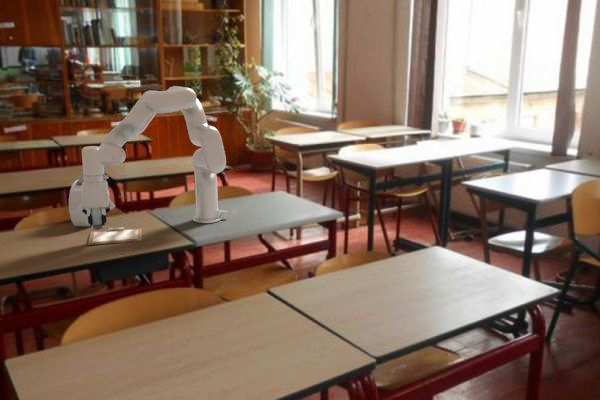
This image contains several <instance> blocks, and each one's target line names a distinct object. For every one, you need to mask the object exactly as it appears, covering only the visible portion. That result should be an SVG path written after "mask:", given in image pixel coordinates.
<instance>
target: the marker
mask: <svg viewBox="0 0 600 400" xmlns="http://www.w3.org/2000/svg"><path fill="white" fill-rule="evenodd" d="M91 216H92V224H93V226H92V230H94V231H100V230H102V229H103V228H104V225H102V208H96V207H95V208H91Z"/></svg>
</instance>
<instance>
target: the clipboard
mask: <svg viewBox="0 0 600 400" xmlns="http://www.w3.org/2000/svg"><path fill="white" fill-rule="evenodd" d="M142 230H143V229H142V228H139V227H138V228H126V229H125V226H122V227H120V226H119V227H108V230H94V231H90V234H89V238H88V242H87V245H88V246H91V245H92V246H93V245H107V244H109V245H110V244H118V243H119V244H120V243H133V242H134V243H135V242H142V241H143V237H142V235H143V231H142Z"/></svg>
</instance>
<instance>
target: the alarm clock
mask: <svg viewBox="0 0 600 400" xmlns="http://www.w3.org/2000/svg"><path fill="white" fill-rule="evenodd" d="M82 182H84V176H83V177H80V178H79V179H76V180H75V181H74V182H73V183H72V185H71V187H70V189H69V194H68V196H69V197H68V210H69V217H70V220H71V223H72V224H73V226H74V227H77V228H78V227H79V228H81V227H84V228H85V227H93V225H92V226H90V224H88V216H87V215H86V214H85V213H83V212H82V211H80V210H78V209H77V207H78V205H79V204H80V202H81V200H82V196H81V193H82ZM85 209H86V208H85ZM86 210H87V209H86ZM102 213H103V212H102Z"/></svg>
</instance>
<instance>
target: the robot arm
mask: <svg viewBox="0 0 600 400" xmlns="http://www.w3.org/2000/svg"><path fill="white" fill-rule="evenodd" d="M179 111H181V113H182V115H183V116H184V120H185V124H186V127H187V132H188V137H189V140H190V142H191V143H192V145H195V146H197V147H200V148H198V149H196V150H195V151H194V153H193V154H192V160H191V161H192V168H193V171H194V187H195V188H194V189H195V191H194V192H195V215H194V216H193V217H192V221H193V222H194V223H199V224H213V223H218V222H221V220H222V219H223V216H229V215H230V212H229V210H226V209H222V210H221V209H220V208H219V198H218V194H219V193H218V177H217V174H219V173H221V172H223V171H224V170H225V168H226V166H227V157H226V151H225V147H224V143H223V142H224V141H223V138H222V136H221V133H220V131H219V130H218V129H217V128H216V127H215V126H213V125H209V124H208V121H207V117H206V113H205V109H204V107H203V105H202V103H201V102H200V100H199V99H198V98H197V93H196V92H195V91H194V89H192V88H190V87H185V86H178V85H173V86H170V87H168V89H166V90H160V91H159V90H147V91H144V93H143V94H141V96H140V97H139V99H138V100H137V101H136V103H135V104H134V106H133V107H132V108H131V109H130V110H129V112H128V113H127V115H126V116H125V117H124V119H122V120H121V121H120V122H119V123H118V124H117V125H116V126H115V127H113V128H112V130H111V131H109V133H108V134H107V135H106V136H105V138H104V140H102V142H101V143H100V145H99V146H97V145H91V146H89V145H88V146H84V147H83V148H81V159H82V173H83V177H84V182H82V193H81V196H82V200H81V202H80V204H79V205H78V207H77V209H78V210H80V211H82V212H83V213H85V214H86V215H87V216H88V224H90V226H89V227H93V226H92V225H93V224H92V216H91V208H95V207H96V208H102V212H103V213H102V225H103V226H105V225H106V224H107V214H108V213H109V212H110V211H112V210H113V209H114V208H116V204H114V201H112V199H111V198H110V196H111V195H110V189H109V184H108V181H107V180H108V179H109V175H107V174H105V166H119V165H121V164H122V163H123V162H125V160H126V157H127V154H126V152H125V150H124V149H123V146H124V145H126V143H127V142H128V141H129V140H130V139H131V138H133V137H136V136H138V135H140V134H142V133H143V132H144V131H145V130H146V129H147V127H148V126H149V124H150V123H152V120H154V118H155V116H156V115H157V114H168V113H173V112H174V113H175V112H179ZM85 208H86V209H87V210H86V209H85Z"/></svg>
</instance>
